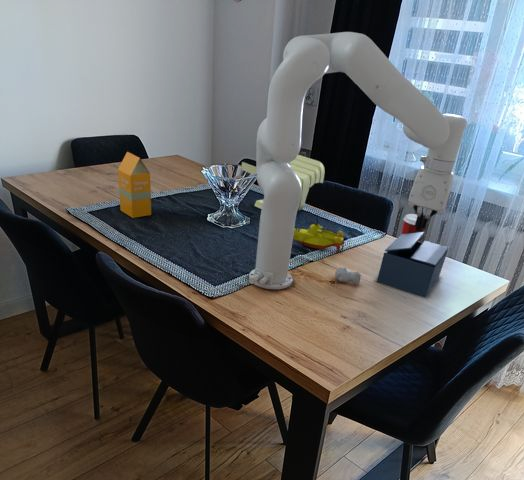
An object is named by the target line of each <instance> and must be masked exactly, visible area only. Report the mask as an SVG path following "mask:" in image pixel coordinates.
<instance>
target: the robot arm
mask: <svg viewBox="0 0 524 480" xmlns="http://www.w3.org/2000/svg"><path fill="white" fill-rule="evenodd" d="M333 73H344V74H345V75H346V76H347V77H349V79H351V80H352V82H353V83H354V84H355V85H357V86H358V88H359V89H360V90H361V91H362V92H363V93H364V94H365V95H366V97H368V98H369V99H370V101H371V102H372V103H374V105H376V106H377V107H378V108H379V109H381V110H382V111H384V112H385V113H386V114H388V115H390V116H392V117H394V118H395V119H396V120H398V121H399V122H400V123H402V130H403V133H404V135H405V136H406V137H407V139H409V140H410V141H412V142H414V143H416V144H418V145H421V146H422V147H424V148H427V149H428V151H427V154H426V156H423V155H421V156H420V159H419V162H421V163H422V164H423V165H421V166H420V167H419V169H418V171H417V173H416V176H415V178H414V181H413V183H412V187H411V188H410V189H411V190H410V193H409V195H408V201H407V203H406V205H407V206H408V207H410V208H412V209H413V210H414V212H415V214H417V220H416V223H415V226H416V230H419V231H420V232H421V231H422V230H423V228H424V230H425V229H426V227H427V225H428V223H429V219H430V218H431V217H433V216H435V215H444V214H445V213H446V206H447V205H448V202H449V199H450V195H451V191H452V187H453V182H454V172H453V170H454V165H455V162H456V160H457V157H458V153H459V151H460V147H461V144H462V142H463V138H464V134H465V131H466V129H467V124H468V121H467V119H466V118H465V117H464V116H461V115H458V114H451V113H442V112H441V110H439V108H438V107H437V106H436V105H435V103H433V102H432V101H431V99H429V98H428V96H426V95H425V94H424V93H423V92H421V90H419V89H418V88H417V87H416V86H415V85H414V84H413V83H412V82H411V81H410V80H408V78H407V77H405V76H404V75H403V74H402V73H401V71H400V70H399V69H398V68H397V67H396V66H395V65H394V63H392V61H391V60H390V59H389V58H388V57H387V56H386V54H385V53H384V52H383V51H382V50H381V49H380V47H378V46H377V44H376V43H375V42H374V41H373V39H371V38H370V37H369V36H367V35H366V34H364V33H359V32H354V31H342V32H341V31H340V32H333V33H320V34H307V35H298V36H295V37H293V38H292V39H290V40H289V41H288V42H287V44H286V46H284V49H283V54H282V61H281V62H280V64H279V65H278V67H277V68H276V70H275V72H274V73H273V75H272V78H271V81H270V84H269V88H268V92H267V93H268V95H267V108H266V118H264V119H263V120H262V121H261V122H260V125H259V126H258V129H257V132H256V149H255V151H256V153H255V154H256V155H255V157H256V158H255V159H256V160H255V161H256V163H255V164H256V166H255V167H256V174H257V178H256V181H257V184H258V187H259V188H260V190H261V191H262V194H263V199H264V201H263V206H262V209H261V211H260V217H259V225H258V226H259V227H258V236H257V247H256V257H255V265H254V266H255V268H254V269H252V270H251V271H249V275H248V281H247V282H249V284H251V285H254V286H256V287H259V288H261V289H266V290H283V289H287V288H289V287H290V286H292V284H293V276H292V275H291V273H289V270H290V261H291V255H292V247H293V241H294V239H293V234H294V228H295V227H296V219H297V214H298V211H299V210H298V206H299V203H300V200H301V195H302V186H301V182H300V180H299V178H298V176H297V175H296V173H295V172H294V171H293V170H292V169H291V168H290V163H291V161H293V160H294V159H295V158H296V157H297V155H300V151H301V147H302V130H303V129H302V128H303V113H304V111H303V110H304V104H305V103H304V102H305V98H306V95H307V93H308V91H309V89H310V88H311V87H312V85H313V84H314V83H316V82H317V81H318V80H320V79H321V78H322V77H324V75H325V74H333ZM425 209H427V211H426V213H424V210H425ZM297 210H298V211H297Z"/></svg>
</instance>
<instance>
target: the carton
mask: <svg viewBox="0 0 524 480" xmlns="http://www.w3.org/2000/svg"><path fill="white" fill-rule="evenodd" d="M448 251H449V246H446V245H442V244H438V243H436V242H431V241H428V240H424V241H423V242H422V241H420V242H418V241H417V242H416V243H415V244H414V246H413V247H412V248H411V249H406V250H395V251H384V252H383V254H382V255H383V256H382V260H381V263H380V266H379V272H378V275H377V279H376V283H379V284H382V285H385V286H389V287H391V288H394V289H397V290H400V291H402V292H403V291H404V292H407V293H410V294H413V295H417V296H420V297H421V298H422V297H423V298H427V296H428V294H429V293H430V292H431V290H432V289H433V287H434V286H435V284H436V283H437V282H438V280H439V278H440V276H441V273H442V269H443V266H444V263H445V260H446V257H447V254H448Z"/></svg>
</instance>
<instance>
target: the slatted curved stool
mask: <svg viewBox="0 0 524 480" xmlns="http://www.w3.org/2000/svg"><path fill="white" fill-rule="evenodd" d="M290 168H291V169H292V170H293V171H294V172H295V173H296V175H297V176H298V178H299V180H300V182H301V186H302V195H301V200H300V203H299V206H298V210H297V212H299V211H301V210H302V211H303V210H304V208H305V206H306V200H307V196H308V193H309V191H310V188H312V187H313V186H314V185H315V184H324V180H325V173H326V172H325V166H324V163H322V162H321V161H320V160H317V159H313V158H310V157H307V156H304V155H301V154H298V155H297V157H296V158H295V159H294V160H293V161H291V163H290ZM241 171H244V172H246V173H247V174H250V175H252V174H256V166H255V165H252V164H250V163H247V162H245V161H242V162H241ZM263 201H264V198H262V199H257V200H255V203H254V207H256V208H258V209H261V210H262V206H263Z"/></svg>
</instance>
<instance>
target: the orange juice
mask: <svg viewBox="0 0 524 480" xmlns="http://www.w3.org/2000/svg"><path fill="white" fill-rule="evenodd" d="M117 175H118V194H119V209H120V211H121V212H122V213H124V214H126V215H127V216H128V217H130V218H132V219H135V218H140V217H146V216H151V215H152V191H151V189H152V188H151V172H150V171H149V170H148V168H147V166H146V165H145V163H144V162H143V160H142V159H141V157H139V156H137V155H135V154H133V153H131V152H129V151H127V152H126V153H125V155H124V156H123V159H122V161H121V162H120V164H119V166H118V168H117Z"/></svg>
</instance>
